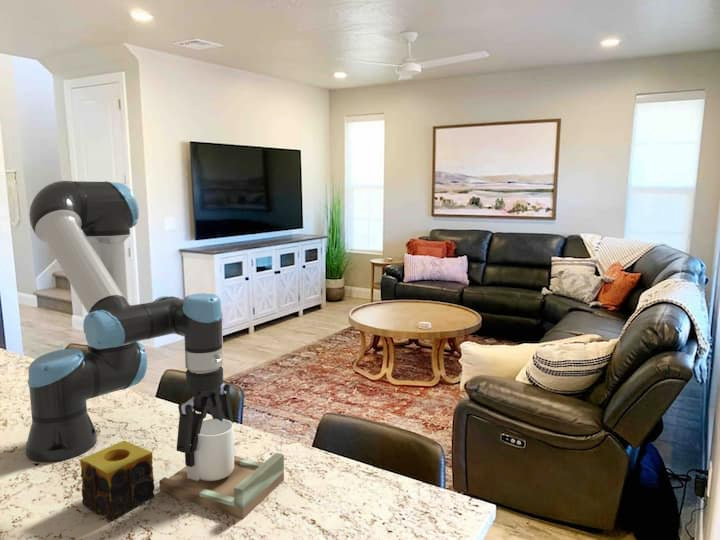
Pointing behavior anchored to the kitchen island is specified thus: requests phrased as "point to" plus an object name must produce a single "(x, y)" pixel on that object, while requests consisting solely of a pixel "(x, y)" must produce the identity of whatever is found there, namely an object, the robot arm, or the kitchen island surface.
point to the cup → (216, 449)
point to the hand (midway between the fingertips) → (207, 468)
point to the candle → (117, 479)
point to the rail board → (229, 486)
